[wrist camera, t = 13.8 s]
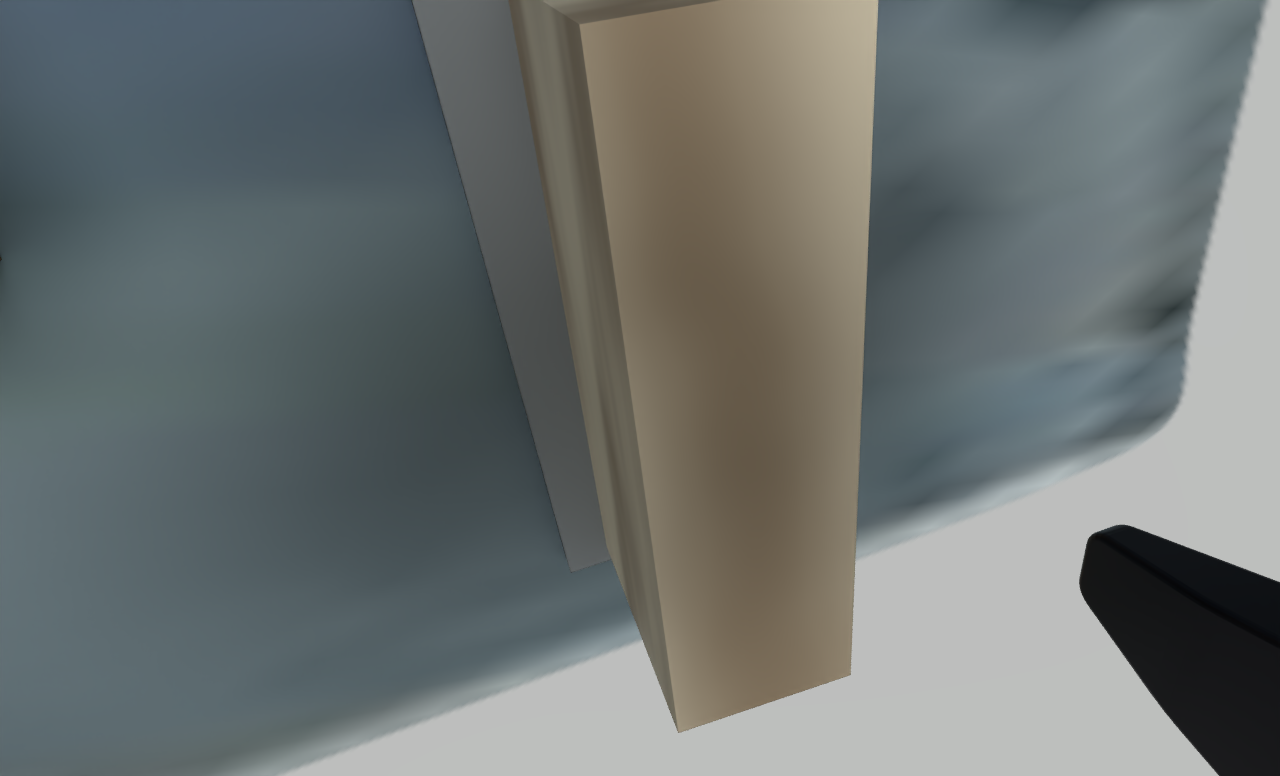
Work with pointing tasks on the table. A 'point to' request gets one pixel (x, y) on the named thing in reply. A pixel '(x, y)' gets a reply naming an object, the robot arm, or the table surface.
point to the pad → (516, 245)
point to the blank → (715, 317)
